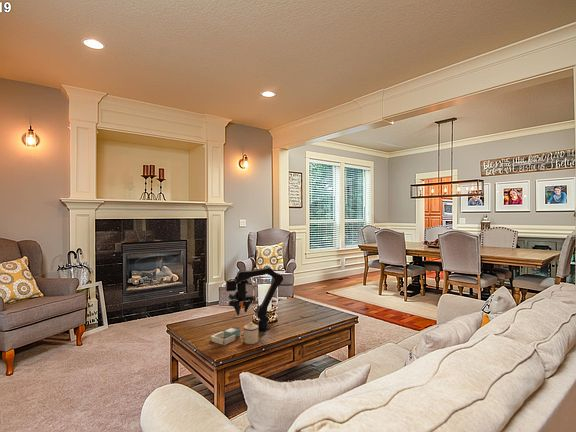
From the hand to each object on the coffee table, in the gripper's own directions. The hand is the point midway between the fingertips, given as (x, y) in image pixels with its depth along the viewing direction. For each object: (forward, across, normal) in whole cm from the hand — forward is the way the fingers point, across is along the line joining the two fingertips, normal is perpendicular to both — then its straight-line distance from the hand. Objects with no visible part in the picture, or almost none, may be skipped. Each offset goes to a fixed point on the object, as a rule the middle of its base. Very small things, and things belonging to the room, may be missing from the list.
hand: (241, 313), depth 216 cm
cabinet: (+12, +9, 0) cm, 15 cm away
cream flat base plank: (+12, +17, 0) cm, 21 cm away
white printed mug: (+12, +11, +15) cm, 22 cm away
